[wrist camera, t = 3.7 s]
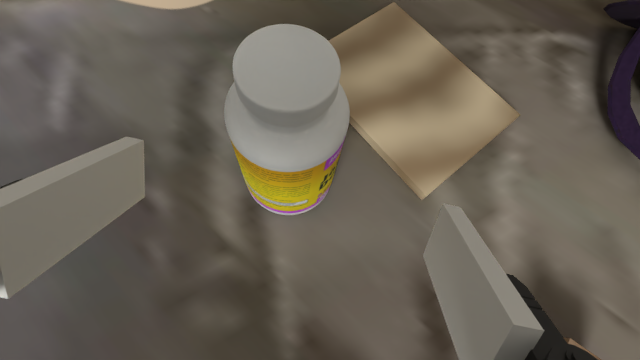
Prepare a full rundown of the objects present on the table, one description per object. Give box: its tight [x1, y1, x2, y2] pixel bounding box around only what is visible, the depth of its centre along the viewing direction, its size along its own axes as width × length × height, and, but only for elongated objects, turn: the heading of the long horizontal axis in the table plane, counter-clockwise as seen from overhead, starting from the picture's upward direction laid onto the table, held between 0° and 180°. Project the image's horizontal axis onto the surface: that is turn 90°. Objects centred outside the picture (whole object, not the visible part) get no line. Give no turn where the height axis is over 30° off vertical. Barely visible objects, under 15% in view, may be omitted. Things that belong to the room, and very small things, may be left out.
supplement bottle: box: [224, 24, 350, 215], centre depth 20 cm, size 7×7×13 cm
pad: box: [329, 2, 520, 200], centre depth 29 cm, size 16×12×1 cm
